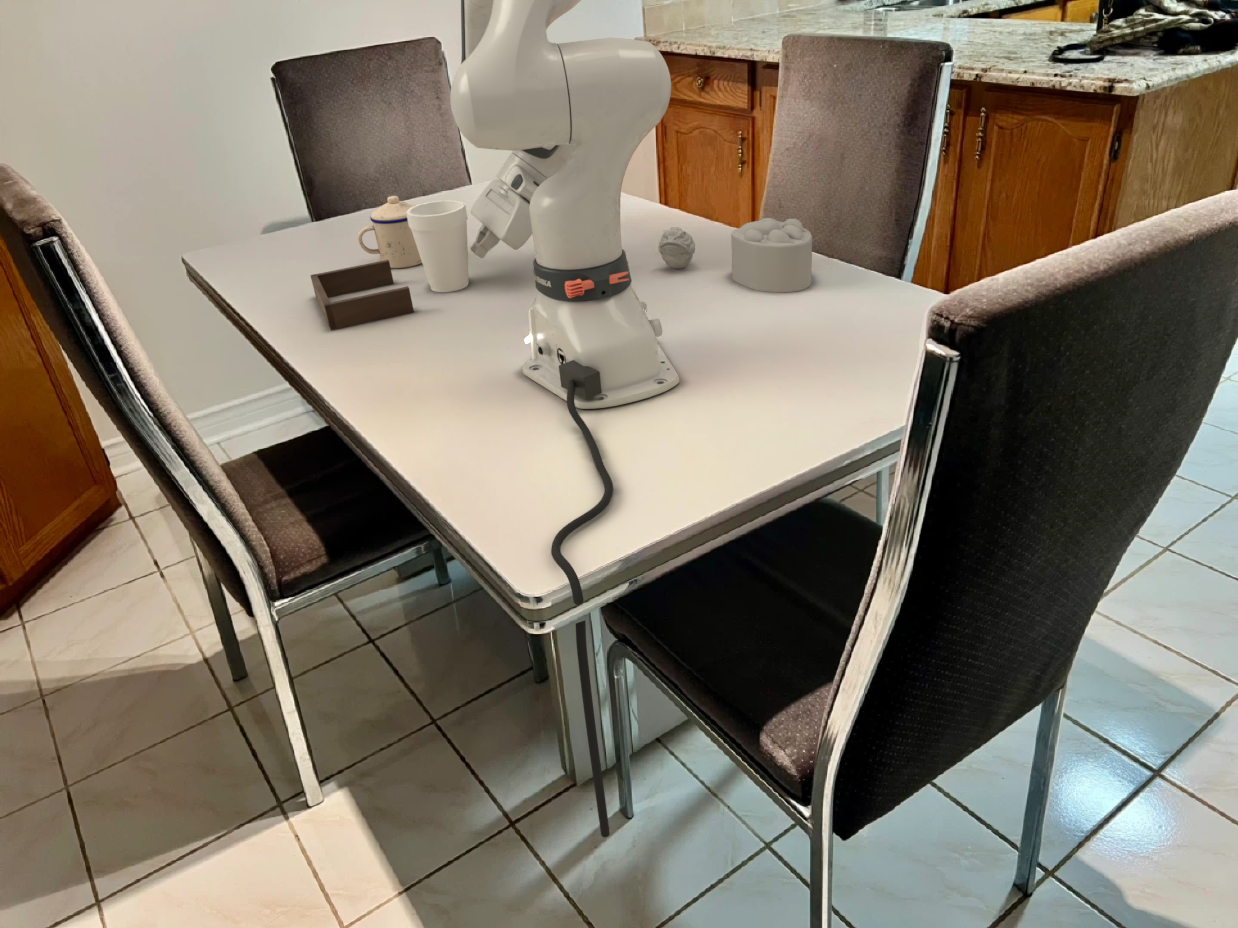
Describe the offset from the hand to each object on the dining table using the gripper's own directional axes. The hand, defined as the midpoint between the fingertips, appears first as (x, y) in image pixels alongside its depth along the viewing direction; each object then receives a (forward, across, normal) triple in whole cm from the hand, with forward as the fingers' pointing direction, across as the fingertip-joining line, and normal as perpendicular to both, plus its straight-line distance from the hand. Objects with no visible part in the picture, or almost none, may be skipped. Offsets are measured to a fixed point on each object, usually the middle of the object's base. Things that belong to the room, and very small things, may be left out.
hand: (476, 254), depth 156 cm
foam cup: (+7, 0, 0) cm, 7 cm away
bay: (+17, 0, -11) cm, 20 cm away
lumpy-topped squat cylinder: (-25, +29, +32) cm, 50 cm away
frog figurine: (-18, +15, +24) cm, 34 cm away
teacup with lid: (+11, -19, -4) cm, 22 cm away
